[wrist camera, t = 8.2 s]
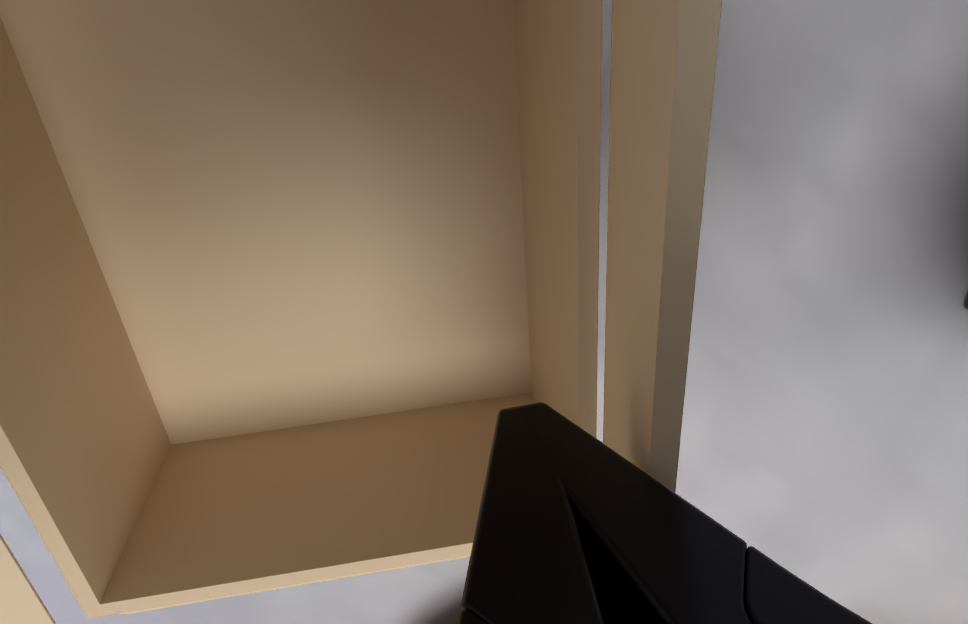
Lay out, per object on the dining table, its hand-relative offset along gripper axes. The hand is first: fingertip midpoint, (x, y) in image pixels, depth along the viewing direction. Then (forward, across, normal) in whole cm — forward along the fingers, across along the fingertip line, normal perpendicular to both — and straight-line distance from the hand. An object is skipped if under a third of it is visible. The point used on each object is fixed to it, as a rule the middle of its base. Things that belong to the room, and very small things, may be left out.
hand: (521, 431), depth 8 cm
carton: (+10, +3, 0) cm, 11 cm away
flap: (+1, -2, 0) cm, 2 cm away
